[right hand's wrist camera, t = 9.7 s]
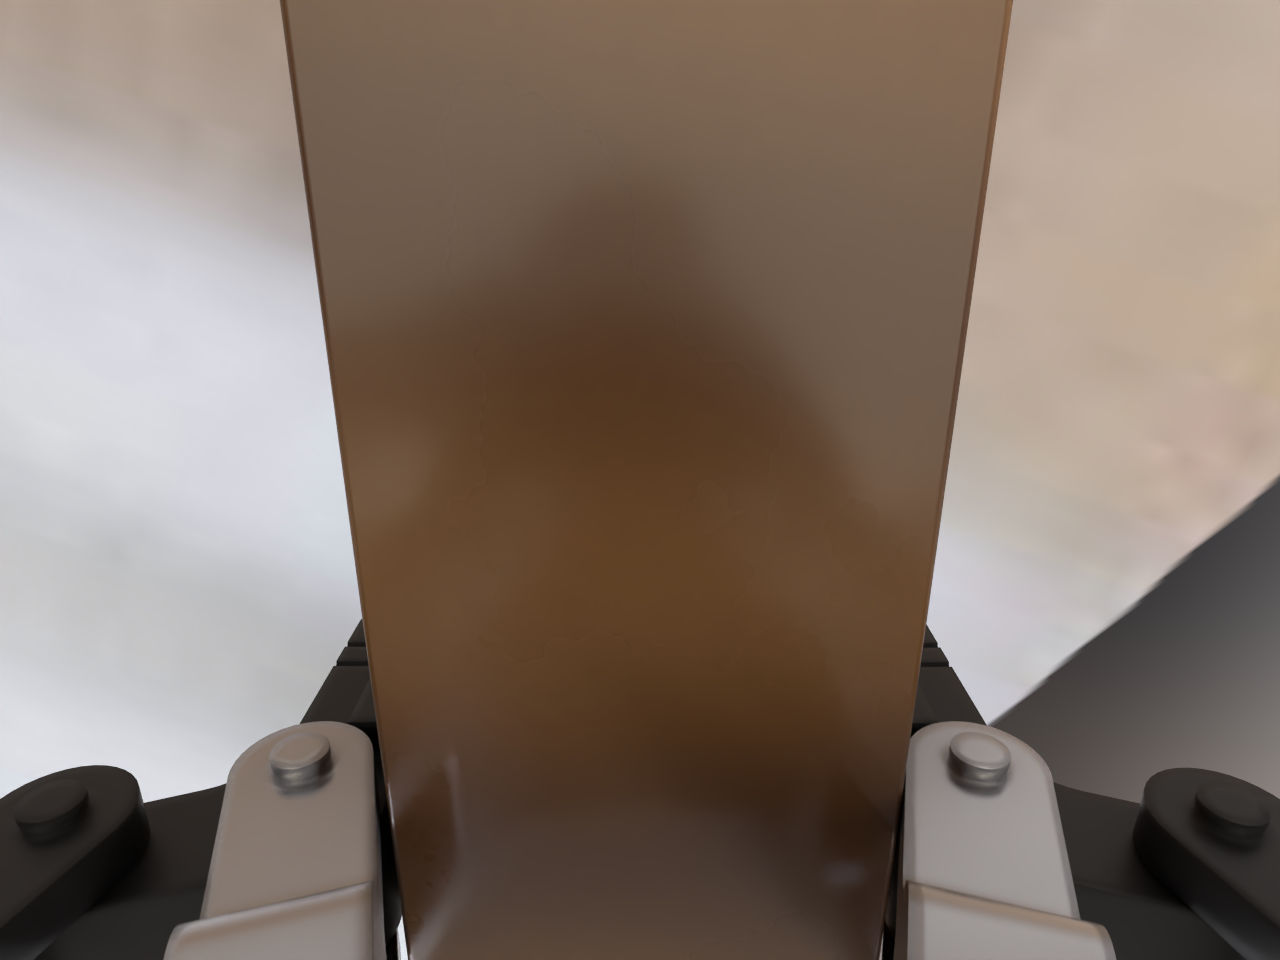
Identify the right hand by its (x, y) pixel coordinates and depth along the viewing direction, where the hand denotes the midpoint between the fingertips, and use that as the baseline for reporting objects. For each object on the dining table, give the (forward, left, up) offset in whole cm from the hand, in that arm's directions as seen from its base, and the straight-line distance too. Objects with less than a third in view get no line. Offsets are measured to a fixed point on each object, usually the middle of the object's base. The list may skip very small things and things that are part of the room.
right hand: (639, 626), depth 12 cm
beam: (+18, +13, -3) cm, 22 cm away
